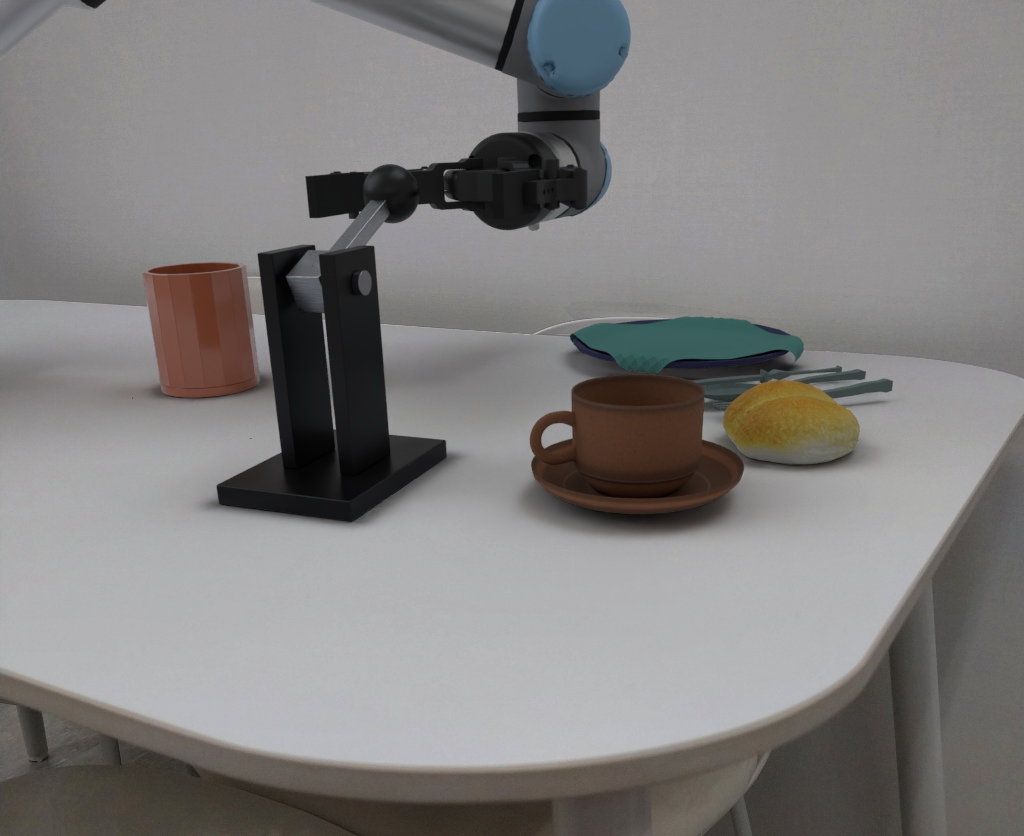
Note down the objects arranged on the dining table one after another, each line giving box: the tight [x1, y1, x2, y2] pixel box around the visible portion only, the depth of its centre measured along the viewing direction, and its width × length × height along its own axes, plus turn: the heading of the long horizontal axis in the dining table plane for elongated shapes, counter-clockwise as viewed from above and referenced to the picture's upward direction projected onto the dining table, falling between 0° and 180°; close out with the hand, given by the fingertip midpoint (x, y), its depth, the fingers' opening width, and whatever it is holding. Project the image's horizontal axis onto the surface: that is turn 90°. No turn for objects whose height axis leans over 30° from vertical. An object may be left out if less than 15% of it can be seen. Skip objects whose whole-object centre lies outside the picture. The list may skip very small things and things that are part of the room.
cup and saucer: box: [529, 373, 745, 515], centre depth 55 cm, size 12×12×6 cm
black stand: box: [215, 244, 448, 522], centre depth 57 cm, size 12×9×14 cm
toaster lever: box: [286, 163, 419, 314], centre depth 59 cm, size 13×4×4 cm, turn 158°
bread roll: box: [722, 379, 861, 465], centre depth 63 cm, size 8×9×4 cm
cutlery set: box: [569, 315, 894, 412], centre depth 83 cm, size 20×30×2 cm, turn 16°
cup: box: [141, 261, 260, 399], centre depth 82 cm, size 8×8×10 cm
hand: (401, 196), depth 63 cm, fingers open, 13 cm apart
